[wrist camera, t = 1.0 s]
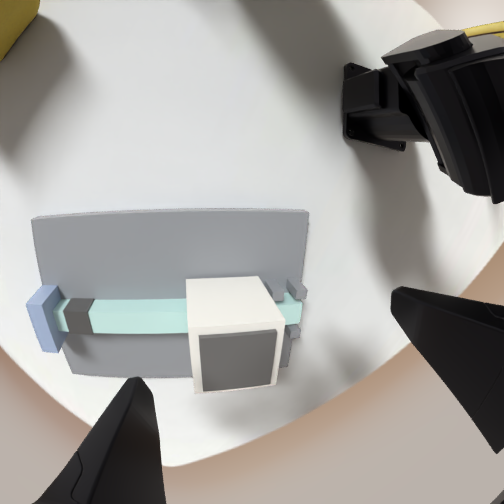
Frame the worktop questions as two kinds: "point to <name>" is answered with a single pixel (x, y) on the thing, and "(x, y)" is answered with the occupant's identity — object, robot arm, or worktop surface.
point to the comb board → (154, 281)
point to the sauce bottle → (486, 30)
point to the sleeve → (233, 334)
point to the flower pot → (14, 21)
